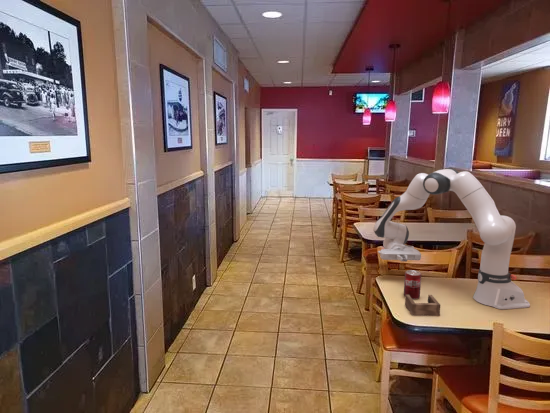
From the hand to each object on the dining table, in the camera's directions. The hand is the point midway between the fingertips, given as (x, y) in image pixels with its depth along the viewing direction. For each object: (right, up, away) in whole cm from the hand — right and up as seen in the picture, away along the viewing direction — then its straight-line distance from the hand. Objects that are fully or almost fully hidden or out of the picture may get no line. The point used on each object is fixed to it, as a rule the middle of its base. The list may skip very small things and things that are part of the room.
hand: (404, 260), depth 190 cm
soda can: (0, -16, -10) cm, 19 cm away
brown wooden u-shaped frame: (-1, -19, -24) cm, 31 cm away
